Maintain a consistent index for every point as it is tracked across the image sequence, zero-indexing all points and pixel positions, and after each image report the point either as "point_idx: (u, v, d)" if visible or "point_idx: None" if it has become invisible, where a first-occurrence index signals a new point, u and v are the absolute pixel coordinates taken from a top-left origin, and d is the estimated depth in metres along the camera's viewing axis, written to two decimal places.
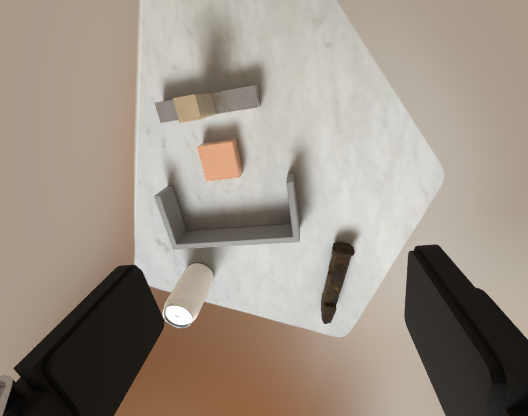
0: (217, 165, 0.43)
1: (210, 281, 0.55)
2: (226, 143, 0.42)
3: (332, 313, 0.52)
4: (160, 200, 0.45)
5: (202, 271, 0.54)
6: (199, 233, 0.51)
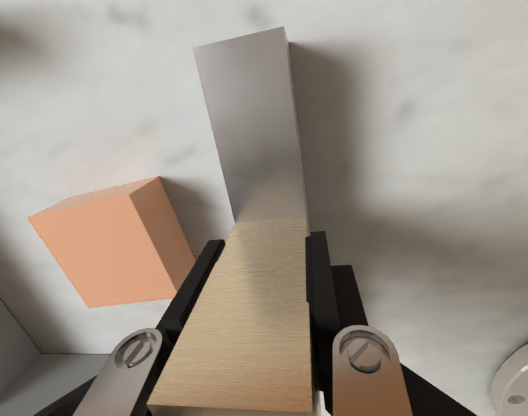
0: (93, 254, 0.13)
1: None
2: (169, 283, 0.13)
3: None
4: None
5: None
6: None
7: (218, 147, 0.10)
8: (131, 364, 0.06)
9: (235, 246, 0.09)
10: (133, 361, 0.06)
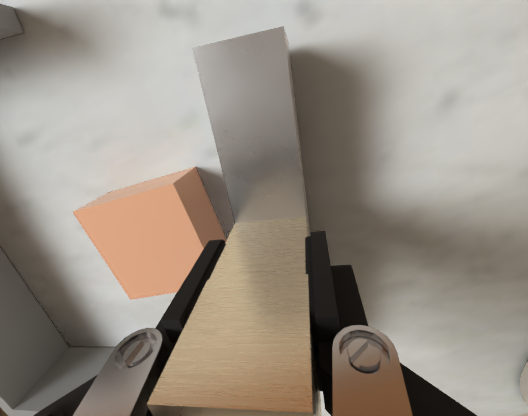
0: (136, 244, 0.14)
1: None
2: None
3: None
4: None
5: None
6: None
7: (218, 147, 0.10)
8: (131, 364, 0.06)
9: (235, 246, 0.09)
10: (133, 361, 0.06)
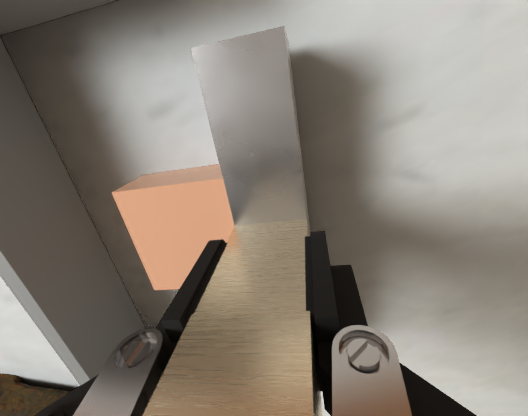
0: (175, 235, 0.13)
1: None
2: None
3: None
4: None
5: None
6: (6, 108, 0.12)
7: (217, 149, 0.10)
8: (131, 364, 0.06)
9: (234, 250, 0.09)
10: (133, 361, 0.06)
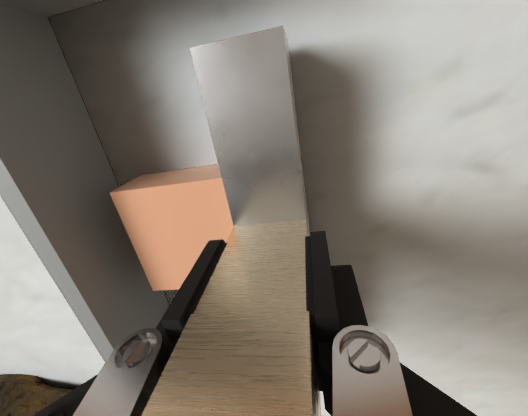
0: (174, 235, 0.13)
1: None
2: None
3: None
4: None
5: None
6: (55, 94, 0.12)
7: (216, 149, 0.09)
8: (131, 364, 0.06)
9: (233, 251, 0.09)
10: (133, 361, 0.06)
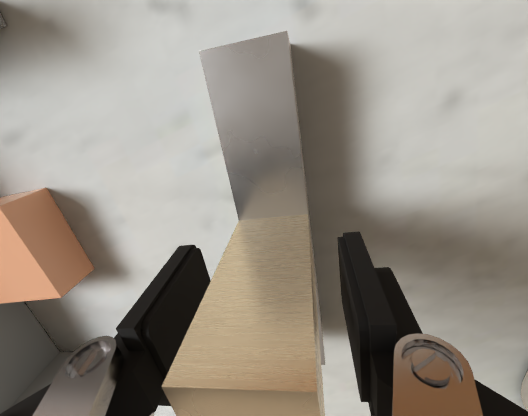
0: None
1: None
2: (50, 284, 0.15)
3: None
4: None
5: None
6: None
7: (223, 147, 0.10)
8: (84, 373, 0.06)
9: (240, 242, 0.10)
10: (86, 369, 0.06)
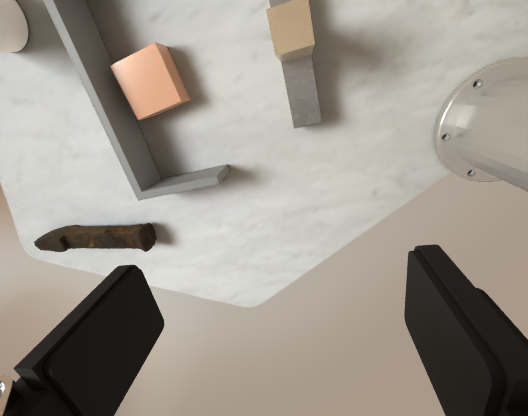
0: (140, 81, 0.29)
1: None
2: (176, 92, 0.29)
3: (54, 249, 0.39)
4: None
5: (10, 30, 0.28)
6: (85, 20, 0.28)
7: None
8: None
9: None
10: None
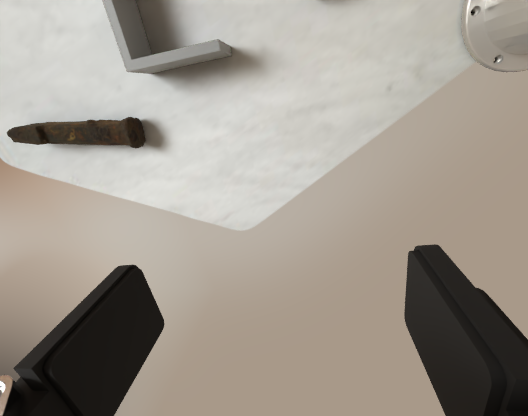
0: None
1: None
2: None
3: (30, 140, 0.35)
4: None
5: None
6: None
7: None
8: None
9: None
10: None
